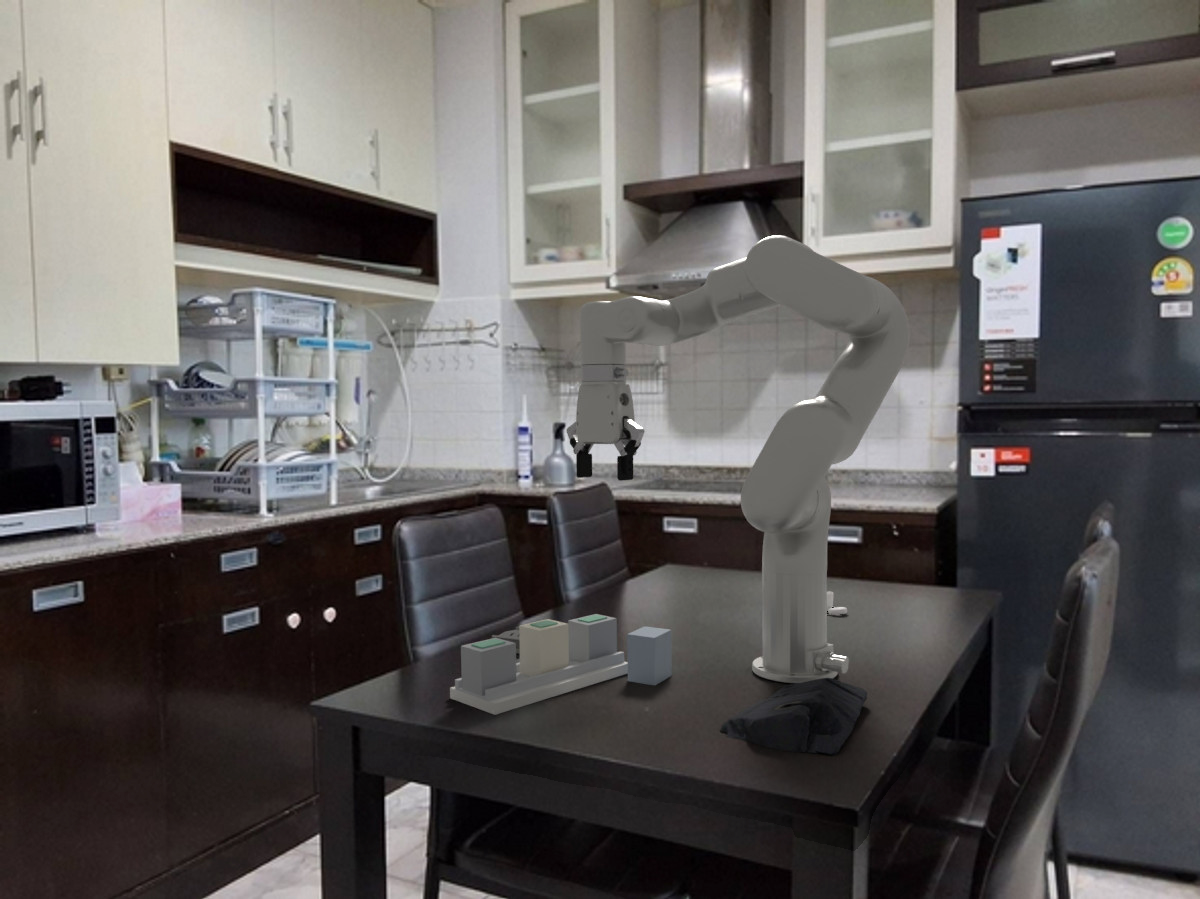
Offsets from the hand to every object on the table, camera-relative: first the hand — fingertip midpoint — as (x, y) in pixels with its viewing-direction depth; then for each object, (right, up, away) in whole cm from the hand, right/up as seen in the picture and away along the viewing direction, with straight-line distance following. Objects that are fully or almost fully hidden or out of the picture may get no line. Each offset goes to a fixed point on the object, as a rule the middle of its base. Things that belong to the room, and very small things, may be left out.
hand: (604, 478), depth 153 cm
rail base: (-9, -29, -21) cm, 37 cm away
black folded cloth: (+25, -30, -37) cm, 54 cm away
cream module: (-9, -28, -21) cm, 36 cm away
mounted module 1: (-16, -28, -28) cm, 42 cm away
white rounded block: (+42, -28, +23) cm, 55 cm away
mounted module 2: (-2, -27, -14) cm, 30 cm away
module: (+7, -29, -18) cm, 35 cm away
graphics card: (-9, -29, 0) cm, 31 cm away
